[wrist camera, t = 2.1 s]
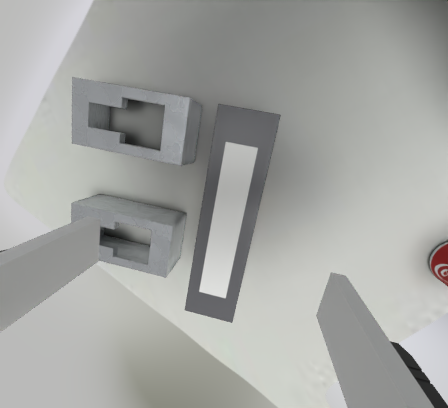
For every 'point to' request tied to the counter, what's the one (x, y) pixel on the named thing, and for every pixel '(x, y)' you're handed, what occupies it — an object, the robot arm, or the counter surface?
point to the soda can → (440, 262)
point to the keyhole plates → (115, 142)
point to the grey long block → (229, 208)
